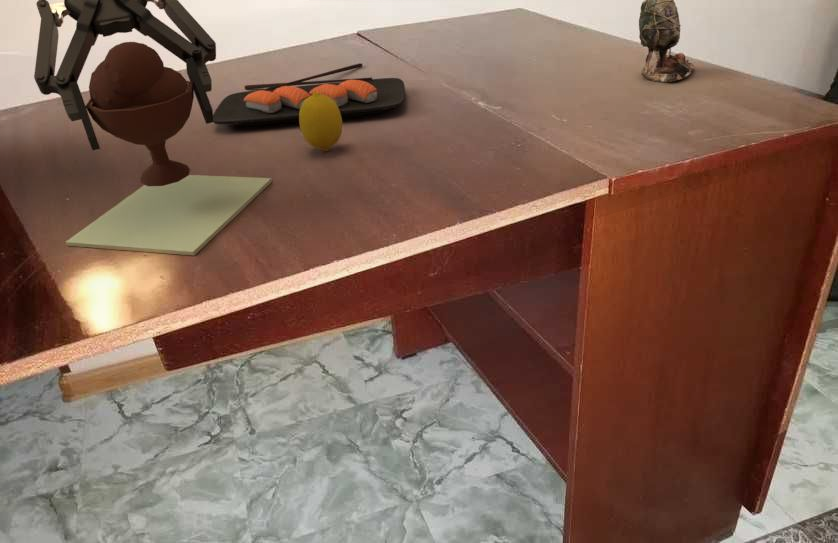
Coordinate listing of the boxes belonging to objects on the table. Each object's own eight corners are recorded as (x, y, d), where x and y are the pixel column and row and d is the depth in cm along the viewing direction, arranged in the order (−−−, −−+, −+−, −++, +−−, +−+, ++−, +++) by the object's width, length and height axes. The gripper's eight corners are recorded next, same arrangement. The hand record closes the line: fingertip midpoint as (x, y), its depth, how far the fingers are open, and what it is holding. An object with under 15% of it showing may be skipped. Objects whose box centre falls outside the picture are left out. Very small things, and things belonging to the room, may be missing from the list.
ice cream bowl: (233, 161, 81) (201, 27, 73) (167, 203, 72) (122, 57, 64) (164, 153, 85) (126, 25, 77) (93, 191, 77) (42, 53, 69)
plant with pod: (616, 78, 109) (625, -63, 98) (668, 63, 113) (681, -74, 103) (657, 90, 103) (671, -59, 92) (709, 72, 107) (728, -71, 97)
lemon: (354, 146, 94) (346, 87, 90) (327, 161, 90) (317, 101, 86) (323, 140, 97) (313, 83, 92) (296, 155, 93) (285, 96, 89)
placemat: (66, 245, 76) (65, 241, 76) (161, 176, 90) (160, 173, 90) (194, 255, 72) (193, 251, 71) (272, 181, 86) (271, 178, 86)
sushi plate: (209, 136, 102) (203, 110, 100) (245, 77, 128) (241, 56, 126) (406, 117, 102) (404, 91, 100) (403, 62, 127) (401, 40, 125)
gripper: (198, -36, 85) (260, 121, 81) (-16, -2, 77) (41, 174, 73) (195, -82, 78) (263, 86, 74) (-40, -51, 70) (22, 140, 66)
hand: (153, 130), depth 73 cm, fingers closed on ice cream bowl, 11 cm apart
